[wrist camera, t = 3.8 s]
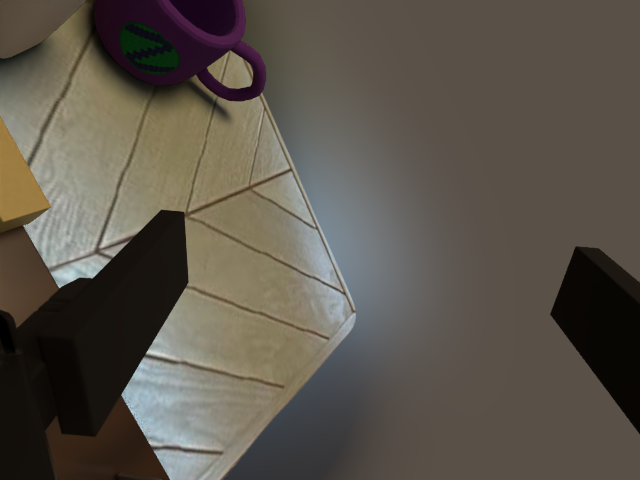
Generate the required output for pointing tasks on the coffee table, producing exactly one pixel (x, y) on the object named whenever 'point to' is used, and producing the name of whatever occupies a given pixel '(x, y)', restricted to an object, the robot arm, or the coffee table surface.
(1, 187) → the butter
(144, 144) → the coffee table surface
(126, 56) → the mug
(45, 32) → the cup
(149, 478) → the knife
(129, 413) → the board
